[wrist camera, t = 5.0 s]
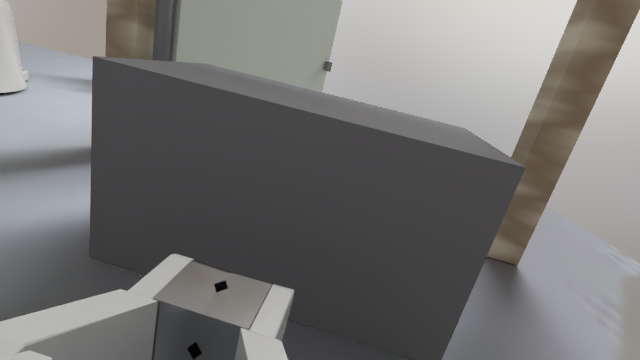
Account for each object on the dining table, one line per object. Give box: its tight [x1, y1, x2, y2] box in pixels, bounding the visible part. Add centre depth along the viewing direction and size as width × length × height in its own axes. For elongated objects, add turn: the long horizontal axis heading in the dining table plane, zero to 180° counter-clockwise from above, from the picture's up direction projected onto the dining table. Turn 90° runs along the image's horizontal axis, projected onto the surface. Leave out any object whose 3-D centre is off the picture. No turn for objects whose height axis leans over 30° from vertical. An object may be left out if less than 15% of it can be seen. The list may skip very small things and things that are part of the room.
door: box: [152, 0, 342, 92], centre depth 38 cm, size 27×3×18 cm, turn 152°
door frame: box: [106, 0, 640, 265], centre depth 25 cm, size 33×2×22 cm, turn 80°
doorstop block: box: [90, 56, 526, 360], centre depth 18 cm, size 16×9×9 cm, turn 80°
